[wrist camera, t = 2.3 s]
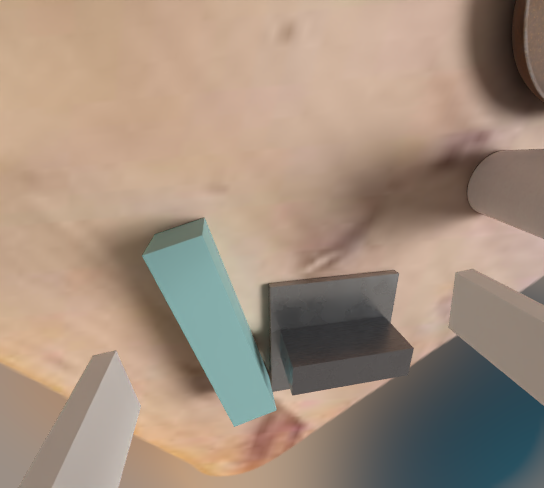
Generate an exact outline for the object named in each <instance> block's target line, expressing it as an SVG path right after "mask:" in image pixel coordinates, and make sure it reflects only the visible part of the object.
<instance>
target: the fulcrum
mask: <svg viewBox="0 0 544 488" xmlns="http://www.w3.org/2000/svg"><path fill="white" fill-rule="evenodd" d="M398 276H399V273H398V272H396V271H395V270H391V271H382V272H372V273H363V274H353V275H344V276H334V277H325V278H315V279H306V280H296V281H287V282H277V283H269V320H270V375H271V388H272V392H274V391H280V390H286V389H290V390H291V393H292V395H298V394H303V393H309V392H314V391H320V390H326V389H331V388H337V387H343V386H348V385H354V384H360V383H365V382H371V381H376V380H382V379H388V378H393V377H399V376H405V375H408V372H409V367H410V363H411V358H412V354H413V349H414V348H413V347H412V346H411V345H410V344H409V343H408V342H407V340H406V339H405V338H404V337H403V336H402V335H401V334H400V333H399V332H398V331H397V330H396V329H395V328H394V326H393V325H392V324H391V323H390V322H391V316H392V311H393V305H394V299H395V294H396V288H397V282H398Z"/></svg>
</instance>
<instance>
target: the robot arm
mask: <svg viewBox="0 0 544 488" xmlns="http://www.w3.org/2000/svg"><path fill="white" fill-rule="evenodd" d="M448 328H449V329H451V330H452V331H453V332H454V333H456V334H457V335H458V336H459V337H461V338H462V339H463V340H464V341H465V342H467V343H468V344H469V345H471V346H472V347H473V348H474V349H475V350H476V351H478V352H479V353H480V354H481V355H483V356H484V357H485V358H486V359H487V360H489V361H490V362H491V363H492V364H494V365H495V366H496V367H497V368H498V369H500V370H501V371H502V372H503V373H505V374H506V375H507V376H508V377H510V378H511V379H512V380H513V381H515V382H516V383H517V384H518V385H519V386H521V387H522V388H523V389H524V390H525V391H527V392H528V393H529V394H530V395H532V396H533V397H534V398H535V399H536V400H538V401H539V402H540V403H541V404H543V405H544V305H542V304H540V303H538V302H536V301H534V300H532V299H530V298H529V297H527V296H525V295H522V294H521V293H519V292H517V291H515V290H513V289H511V288H509V287H507V286H505V285H503V284H501V283H499V282H497V281H495V280H493V279H491V278H489V277H488V276H486V275H484V274H482V273H480V272H478V271H476V270H474V269H469V270H465V271H461V272H456V273H455V281H454V289H453V296H452V304H451V311H450V319H449V326H448ZM140 408H141V405H140V403H139V401H138V398H137V396H136V394H135V392H134V389H133V387H132V385H131V383H130V380H129V378H128V376H127V374H126V372H125V369H124V367H123V365H122V363H121V360H120V358H119V356H118V354H117V351H111V352H107V353H103V354H98V355H94V356H92V358H91V360H90V361H89V363H88V365H87V367H86V369H85V370H84V372H83V374H82V376H81V377H80V379H79V381H78V383H77V384H76V386H75V388H74V390H73V392H72V393H71V395H70V397H69V399H68V400H67V402H66V404H65V406H64V408H63V410H62V411H61V413H60V415H59V416H58V418H57V420H56V422H55V423H54V425H53V427H52V429H51V431H50V432H49V434H48V436H47V438H46V439H45V442H44V443H43V445H42V446H41V448H40V450H39V452H38V454H37V455H36V457H35V459H34V461H33V462H32V464H31V466H30V468H29V470H28V471H27V473H26V475H25V477H24V479H23V480H22V482H21V484H20V485H19V487H18V488H118V486H119V483H120V479H121V476H122V472H123V468H124V465H125V461H126V458H127V454H128V451H129V447H130V443H131V439H132V436H133V433H134V429H135V425H136V422H137V418H138V415H139V411H140Z"/></svg>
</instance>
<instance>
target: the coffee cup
mask: <svg viewBox="0 0 544 488" xmlns="http://www.w3.org/2000/svg"><path fill="white" fill-rule="evenodd" d="M467 196H468V201H469V204H470V206H471V207H472V208H473V209H474V210H475V211H477V212H479V213H481V214H484V215H486V216H488V217H491V218H493V219H496V220H498V221H501V222H503V223H506V224H508V225H511V226H513V227H516V228H518V229H521V230H523V231H526V232H528V233H531V234H533V235H535V236H538V237H540V238H543V239H544V149H528V150H503V151H498V152H495V153H493V154H491V155H489V156H488V157H486V158H485V159H484V160H483V161H482V162H481V163H480V164H479V165H478V166H477V168H476V169H475V171H474V172H473V174H472V176H471V178H470V181H469V184H468V190H467Z"/></svg>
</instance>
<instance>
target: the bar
mask: <svg viewBox="0 0 544 488" xmlns="http://www.w3.org/2000/svg"><path fill="white" fill-rule="evenodd" d="M142 257H143V259H144V260H145V262H146V264H147V266H148V268H149V270H150V272H151V273H152V275H153V277H154V279H155V281H156V283H157V285H158V286H159V288H160V290H161V292H162V294H163V296H164V297H165V299H166V301H167V303H168V305H169V307H170V309H171V310H172V312H173V314H174V316H175V318H176V320H177V322H178V323H179V325H180V327H181V329H182V331H183V333H184V335H185V336H186V338H187V340H188V342H189V344H190V346H191V347H192V349H193V351H194V353H195V355H196V357H197V359H198V360H199V362H200V364H201V366H202V368H203V370H204V372H205V373H206V375H207V377H208V379H209V381H210V383H211V384H212V386H213V388H214V390H215V392H216V394H217V396H218V397H219V399H220V401H221V403H222V405H223V407H224V409H225V410H226V412H227V414H228V416H229V418H230V420H231V422H232V423H233V425H234V427H235V426H238V425H240V424H243V423H245V422H248V421H250V420H253V419H255V418H258V417H261V416H263V415H266V414H268V413H271V412H273V411H276V406H275V401H274V397H273V392H272V388H271V383H270V379H269V375H268V372H267V369H266V367H265V364H264V362H263V360H262V357H261V355H260V352H259V350H258V347H257V345H256V342H255V340H254V338H253V335H252V333H251V330H250V328H249V325H248V323H247V320H246V318H245V316H244V313H243V311H242V308H241V306H240V303H239V301H238V298H237V296H236V294H235V291H234V289H233V286H232V284H231V281H230V279H229V277H228V274H227V272H226V269H225V267H224V264H223V262H222V259H221V257H220V255H219V252H218V250H217V247H216V245H215V242H214V240H213V237H212V235H211V233H210V230H209V228H208V225H207V223H206V220H205V218H202V219H199V220H196V221H193V222H190V223H187V224H184V225H181V226H178V227H175V228H172V229H169V230H166V231H163V232H160V233H157V234H155V235H154V237H153V238H152V240H151V242H150V243H149V245H148V247H147V248H146V250H145V252H144V253H143V255H142Z"/></svg>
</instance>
